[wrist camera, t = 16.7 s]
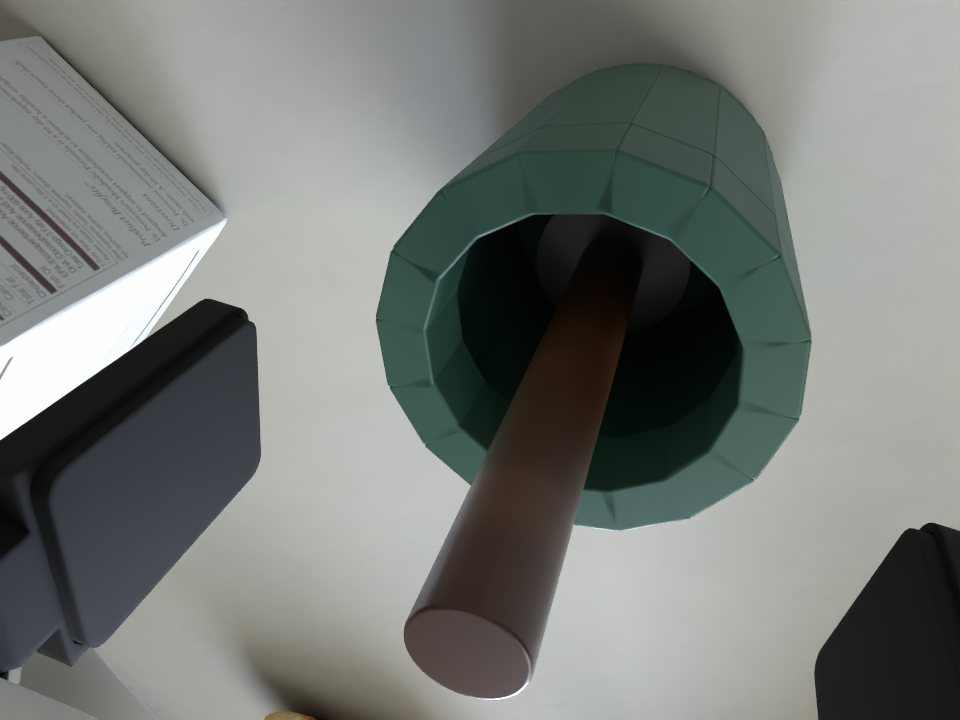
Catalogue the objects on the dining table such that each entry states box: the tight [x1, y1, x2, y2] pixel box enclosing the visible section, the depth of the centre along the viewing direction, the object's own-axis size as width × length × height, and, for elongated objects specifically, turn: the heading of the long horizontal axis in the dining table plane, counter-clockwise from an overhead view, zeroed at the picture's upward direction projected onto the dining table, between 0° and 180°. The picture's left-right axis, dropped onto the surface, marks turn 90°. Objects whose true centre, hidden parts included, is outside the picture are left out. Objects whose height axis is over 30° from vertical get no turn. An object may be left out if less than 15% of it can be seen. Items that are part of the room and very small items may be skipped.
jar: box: [376, 64, 812, 531], centre depth 18 cm, size 8×8×10 cm
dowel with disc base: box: [404, 214, 693, 700], centre depth 15 cm, size 4×4×16 cm
